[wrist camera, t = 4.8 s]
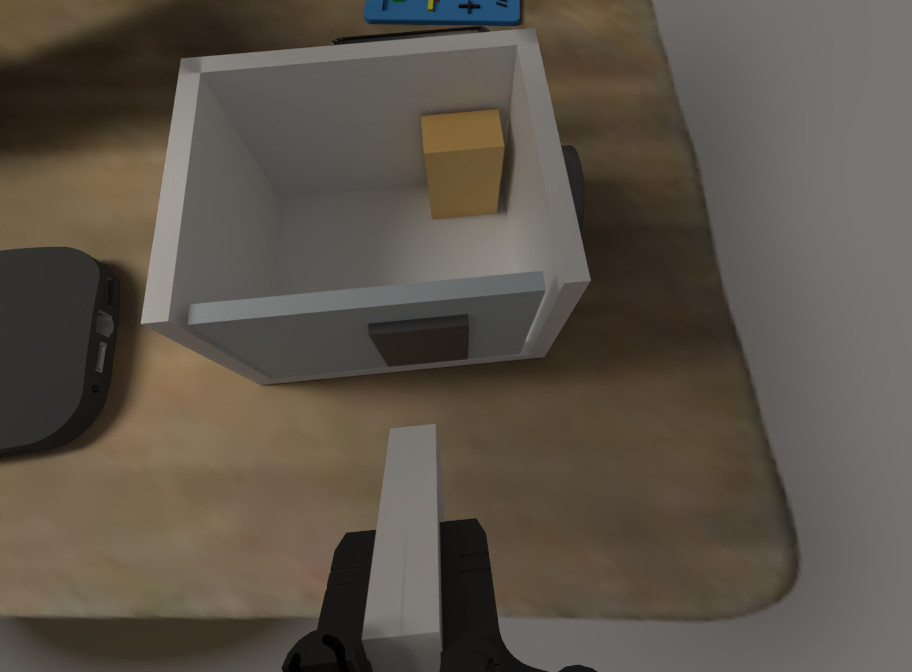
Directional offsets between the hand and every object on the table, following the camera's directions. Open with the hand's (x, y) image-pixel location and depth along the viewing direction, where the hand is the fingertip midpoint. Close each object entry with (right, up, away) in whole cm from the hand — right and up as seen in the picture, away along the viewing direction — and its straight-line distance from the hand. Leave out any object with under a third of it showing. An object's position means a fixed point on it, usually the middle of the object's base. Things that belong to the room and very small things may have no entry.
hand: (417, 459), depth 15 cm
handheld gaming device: (0, +38, +29) cm, 48 cm away
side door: (-3, +2, +15) cm, 15 cm away
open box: (-3, +9, +19) cm, 21 cm away
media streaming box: (-31, +3, +18) cm, 35 cm away
